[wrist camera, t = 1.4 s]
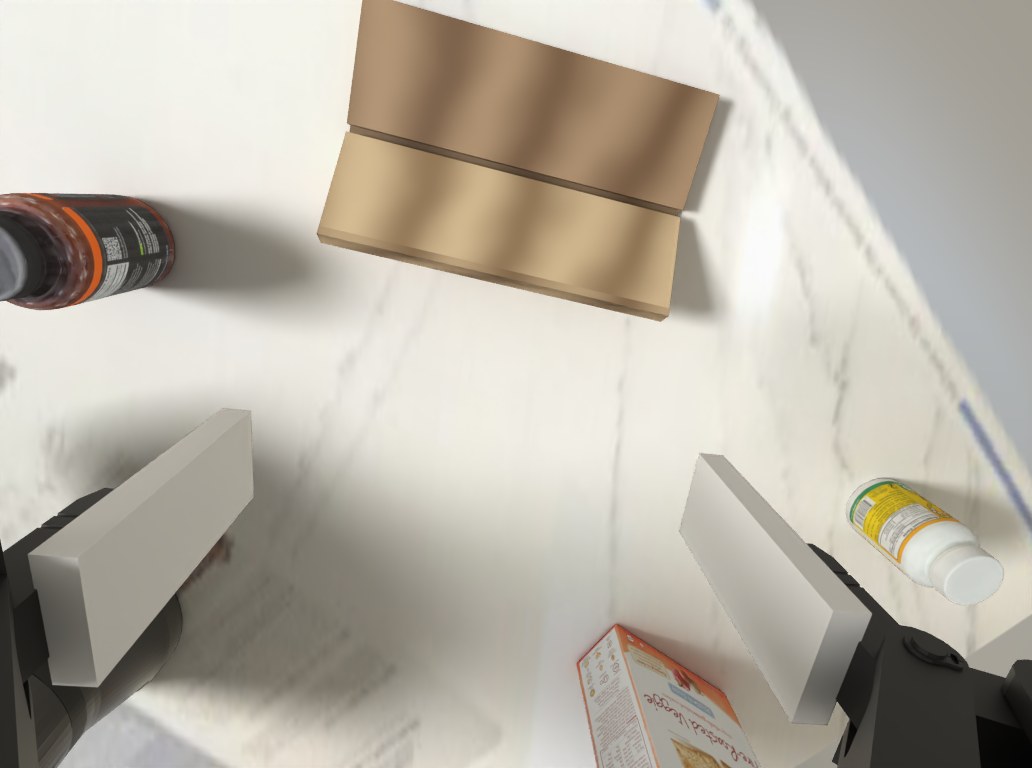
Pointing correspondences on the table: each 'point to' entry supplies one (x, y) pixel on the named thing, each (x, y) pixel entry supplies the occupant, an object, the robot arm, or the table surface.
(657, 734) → the cracker box
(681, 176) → the laid board
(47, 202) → the supplement bottle
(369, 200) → the plank
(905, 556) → the supplement bottle
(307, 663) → the table surface
